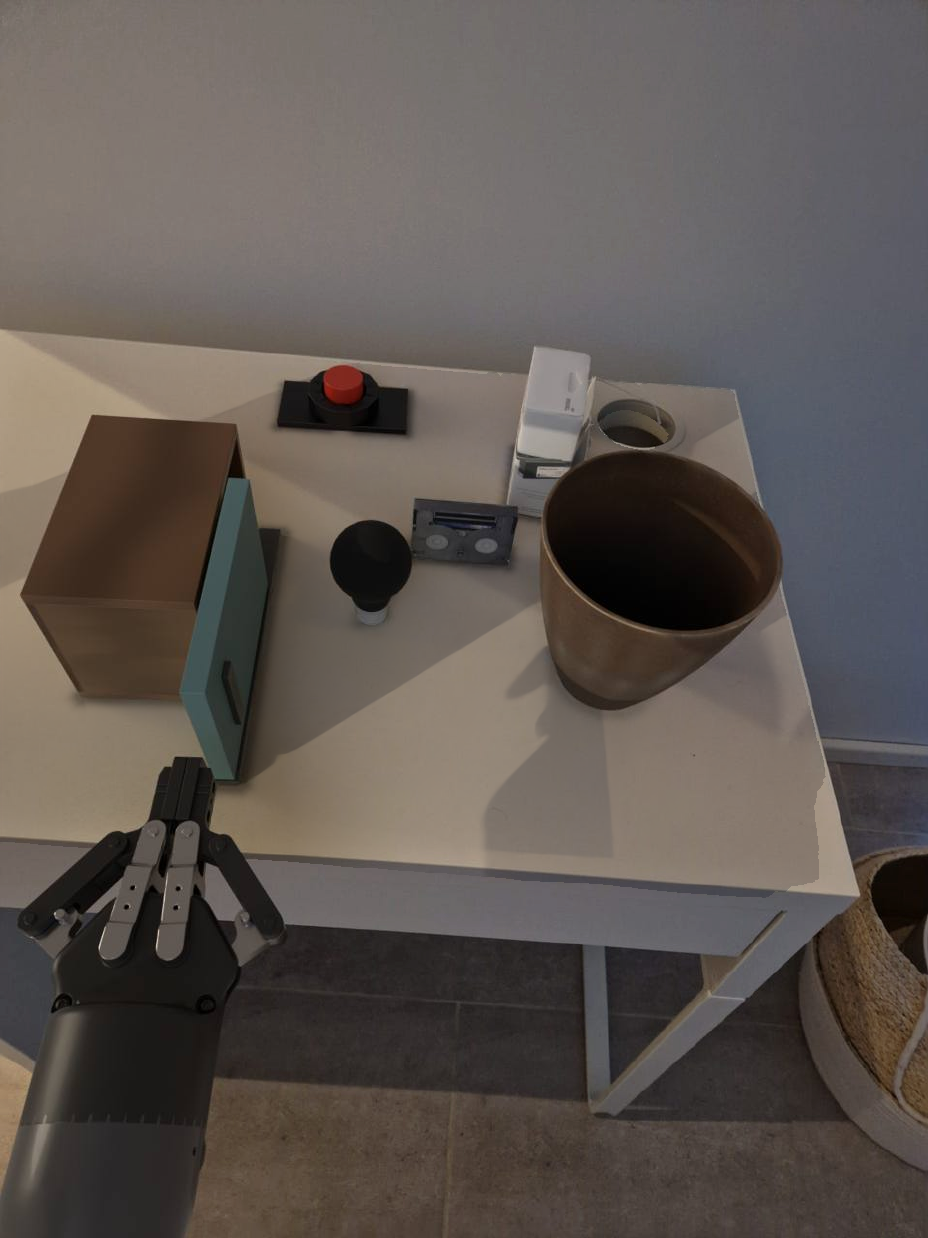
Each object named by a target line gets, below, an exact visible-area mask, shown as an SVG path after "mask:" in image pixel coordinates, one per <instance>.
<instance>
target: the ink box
mask: <svg viewBox="0 0 928 1238" xmlns="http://www.w3.org/2000/svg"><path fill="white" fill-rule="evenodd" d="M591 362H592V358H591V356H590V354H588V353H584V352H578V351H573V350H572V351H571V350H566V349H559V348H554V347H548V346H542V345H541V346H540V345H534V347H533V351H532V357H531V361H530V366H529V370H528V376H527V380H526V385H525V390H524V394H523V399H522V405H521V411H520V415H519V421H518V426H517V433H516V439H515V444H514V451H513V456H512V463H511V471H510V477H509V484H508V490H507V497H506V505H510V506H518V515H519V514H520V515H523V516H524V515H525V516H530V517H535V518H541V519H542V512H543V507H544V504H545V500H546V498H547V496H548V494H549V492H550V490H551V489H552V487H553V486H554V484H555V483H556V482H557V481H558V480H559V478H560V477H561V476H562V475H564V474H565V473H566V472H567V471H568V470H570V469H571V466H572V462H573V458H574V455H575V453H576V450H577V447H578V446H577V445H578V443H579V442H578V441H579V437H580V435H581V430H582V429H581V427H582V423H583V419H584V413H585V405H586V400H587V390H588V388H589V377H590V376H589V375H590V371H591Z"/></svg>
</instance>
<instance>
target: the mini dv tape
mask: <svg viewBox="0 0 928 1238" xmlns="http://www.w3.org/2000/svg"><path fill="white" fill-rule="evenodd" d="M412 509H413V510H412V523H411V524H412V526H411V528H412V529H411V544H410V550H411V553H412V560H413V559H414V560H427V561H441V562H453V563H454V562H455V563H465V564H479V565H494V566H505V567H506V566H509V563H510V559H511V554H512V550H513V544H514V541H515V536H516V530H517V526H518V521H519V513H518V506H510V505H507V504H498V503H497V504H495V503H484V502H472V501H471V502H470V501H458V500H446V499H432V498H420V497H414V498H413V507H412Z"/></svg>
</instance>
